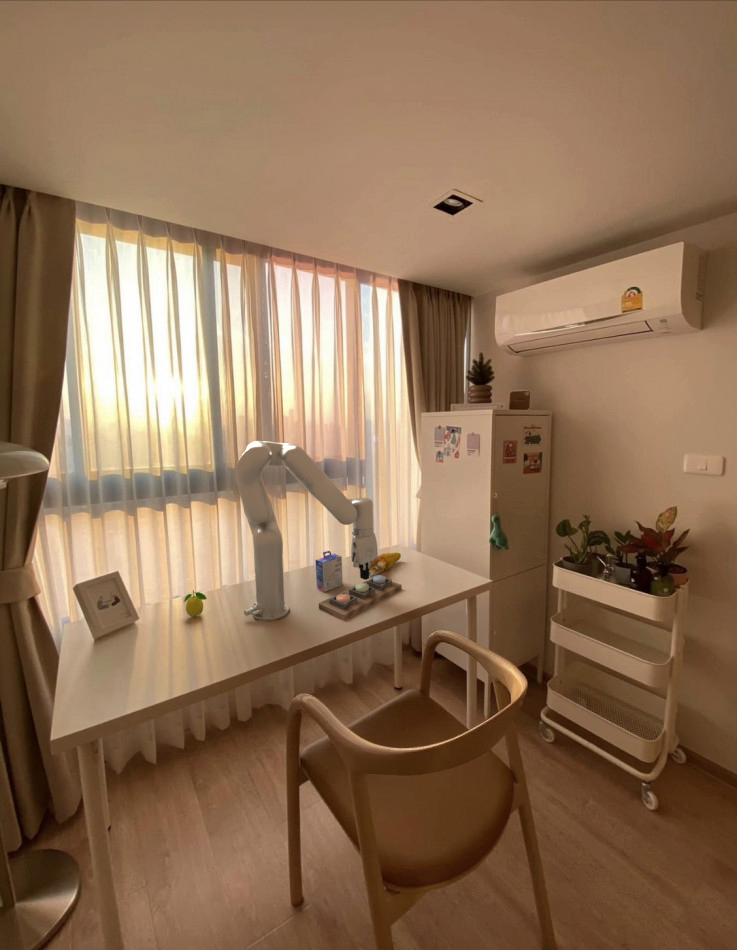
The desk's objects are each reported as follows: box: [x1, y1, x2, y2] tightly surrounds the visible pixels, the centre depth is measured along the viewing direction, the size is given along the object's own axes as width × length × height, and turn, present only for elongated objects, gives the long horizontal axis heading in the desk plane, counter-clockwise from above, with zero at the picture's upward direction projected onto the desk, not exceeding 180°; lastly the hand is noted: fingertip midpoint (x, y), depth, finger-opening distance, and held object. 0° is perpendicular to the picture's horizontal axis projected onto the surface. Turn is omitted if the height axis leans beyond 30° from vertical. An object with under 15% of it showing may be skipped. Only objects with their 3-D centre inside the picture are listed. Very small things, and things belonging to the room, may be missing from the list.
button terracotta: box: [336, 594, 350, 603], centre depth 146 cm, size 5×5×2 cm
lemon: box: [183, 589, 207, 618], centre depth 140 cm, size 7×6×10 cm
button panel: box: [318, 577, 403, 621], centre depth 153 cm, size 32×13×4 cm, turn 138°
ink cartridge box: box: [314, 550, 344, 593], centre depth 163 cm, size 10×6×14 cm, turn 133°
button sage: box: [355, 582, 369, 594], centre depth 153 cm, size 5×5×2 cm
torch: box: [369, 552, 402, 578], centre depth 181 cm, size 8×8×25 cm
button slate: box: [373, 574, 387, 585], centre depth 160 cm, size 5×5×2 cm
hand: (364, 578), depth 153 cm, fingers closed
